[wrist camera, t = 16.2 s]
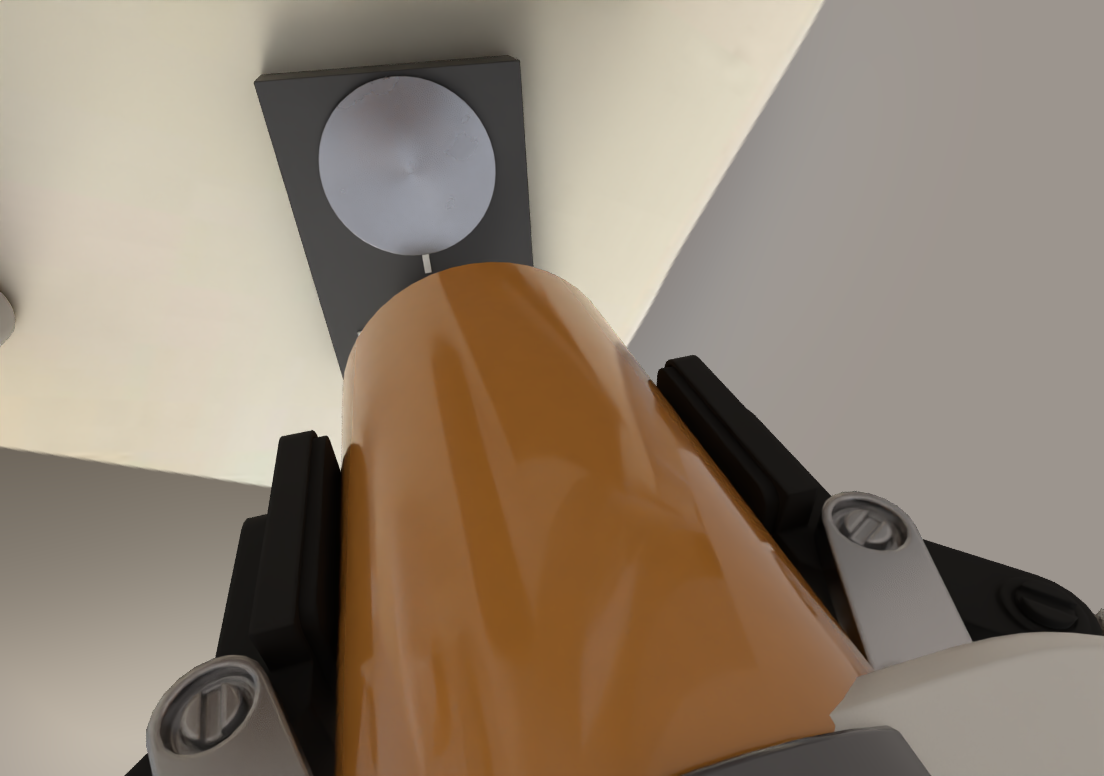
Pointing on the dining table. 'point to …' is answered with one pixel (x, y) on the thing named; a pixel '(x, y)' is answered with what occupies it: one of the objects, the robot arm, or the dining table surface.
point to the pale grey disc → (407, 165)
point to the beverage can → (6, 319)
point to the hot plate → (342, 257)
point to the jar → (562, 563)
